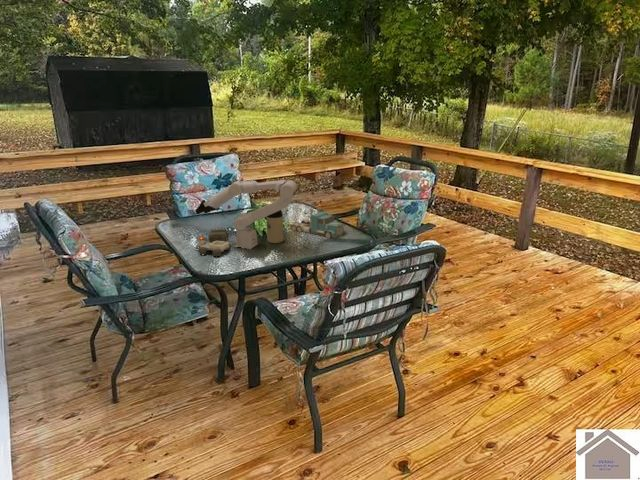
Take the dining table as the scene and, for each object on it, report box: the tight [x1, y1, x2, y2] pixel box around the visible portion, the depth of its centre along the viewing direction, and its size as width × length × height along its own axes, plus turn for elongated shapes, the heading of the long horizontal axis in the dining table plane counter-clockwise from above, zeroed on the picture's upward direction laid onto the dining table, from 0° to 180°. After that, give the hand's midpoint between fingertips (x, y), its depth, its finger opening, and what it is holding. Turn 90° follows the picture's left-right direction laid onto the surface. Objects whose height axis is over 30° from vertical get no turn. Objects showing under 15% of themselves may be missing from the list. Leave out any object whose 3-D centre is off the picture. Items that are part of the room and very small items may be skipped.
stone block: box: [208, 228, 230, 243], centre depth 238 cm, size 9×14×5 cm, turn 8°
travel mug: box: [266, 210, 284, 244], centre depth 236 cm, size 8×8×18 cm
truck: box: [289, 204, 347, 240], centre depth 251 cm, size 12×29×15 cm, turn 55°
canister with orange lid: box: [197, 236, 207, 248], centre depth 227 cm, size 3×3×6 cm
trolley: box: [194, 241, 232, 257], centre depth 223 cm, size 17×10×5 cm, turn 68°
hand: (200, 212), depth 229 cm, fingers open, 7 cm apart
